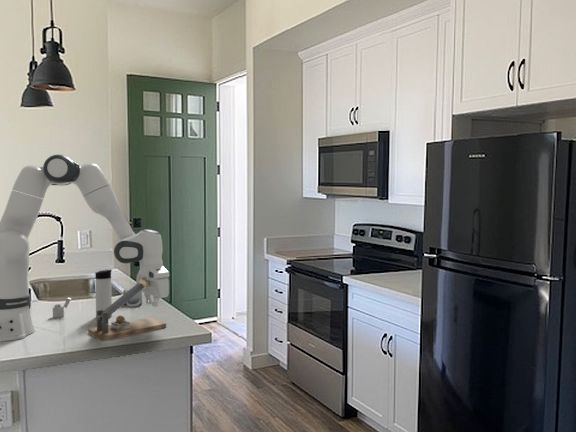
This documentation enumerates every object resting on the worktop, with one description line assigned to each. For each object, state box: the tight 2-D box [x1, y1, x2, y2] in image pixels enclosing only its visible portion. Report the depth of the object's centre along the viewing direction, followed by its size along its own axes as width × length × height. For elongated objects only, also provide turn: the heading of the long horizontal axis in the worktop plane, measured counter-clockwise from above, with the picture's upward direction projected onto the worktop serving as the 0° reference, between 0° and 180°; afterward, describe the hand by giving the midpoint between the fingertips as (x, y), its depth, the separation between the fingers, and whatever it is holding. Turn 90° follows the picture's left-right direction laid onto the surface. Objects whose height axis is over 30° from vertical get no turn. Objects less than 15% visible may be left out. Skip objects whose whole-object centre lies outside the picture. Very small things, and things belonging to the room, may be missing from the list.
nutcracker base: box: [87, 310, 167, 341], centre depth 201 cm, size 26×12×9 cm, turn 133°
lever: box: [96, 278, 150, 322], centre depth 199 cm, size 24×4×4 cm
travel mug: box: [94, 269, 113, 319], centre depth 219 cm, size 6×7×20 cm
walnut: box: [115, 315, 126, 324], centre depth 199 cm, size 3×3×3 cm
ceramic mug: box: [122, 287, 143, 308], centre depth 241 cm, size 11×8×8 cm
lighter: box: [52, 297, 72, 319], centre depth 219 cm, size 7×2×8 cm, turn 110°
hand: (152, 305), depth 208 cm, fingers open, 3 cm apart
